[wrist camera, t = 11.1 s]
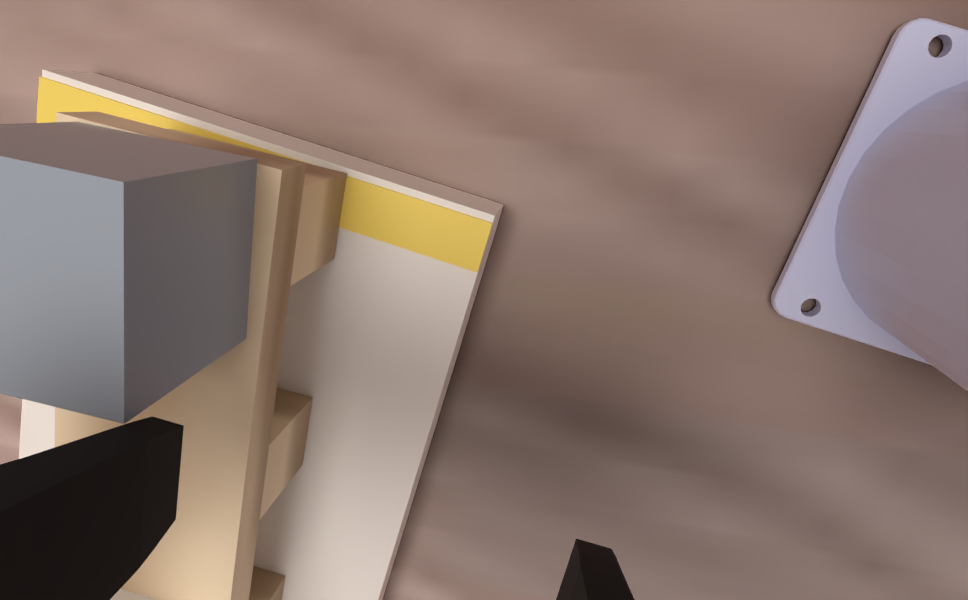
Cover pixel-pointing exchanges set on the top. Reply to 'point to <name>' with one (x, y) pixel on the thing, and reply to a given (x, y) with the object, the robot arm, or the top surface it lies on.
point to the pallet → (235, 392)
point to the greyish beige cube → (129, 596)
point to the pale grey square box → (118, 264)
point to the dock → (338, 343)
